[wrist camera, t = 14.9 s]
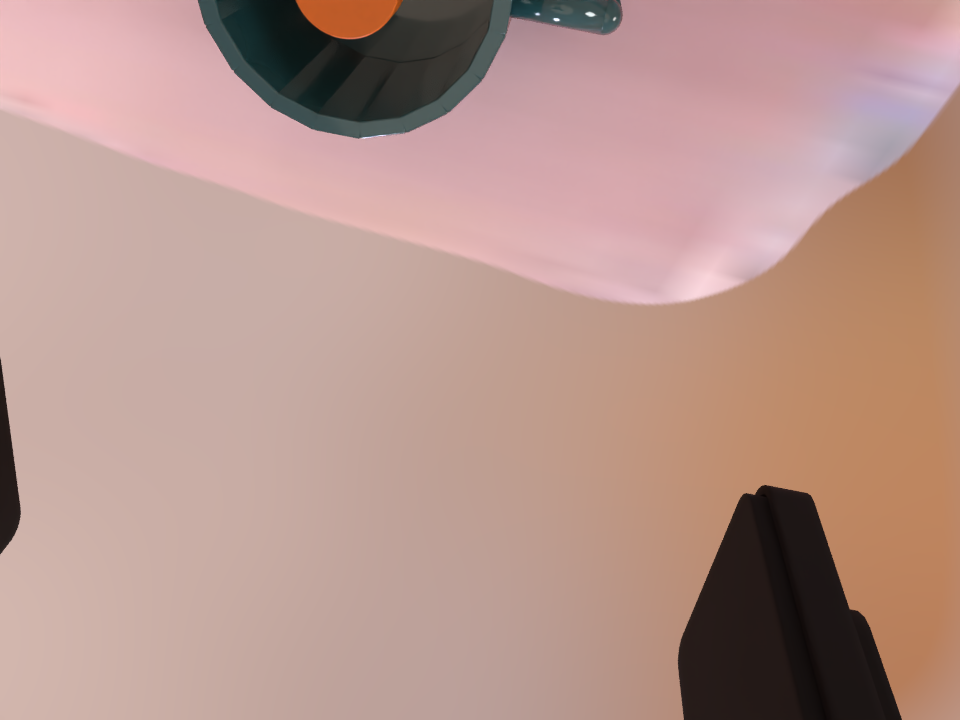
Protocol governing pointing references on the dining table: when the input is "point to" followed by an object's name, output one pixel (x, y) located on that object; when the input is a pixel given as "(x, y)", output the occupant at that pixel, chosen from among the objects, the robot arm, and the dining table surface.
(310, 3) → the glue stick
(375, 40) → the mug
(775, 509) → the robot arm
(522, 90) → the dining table surface
